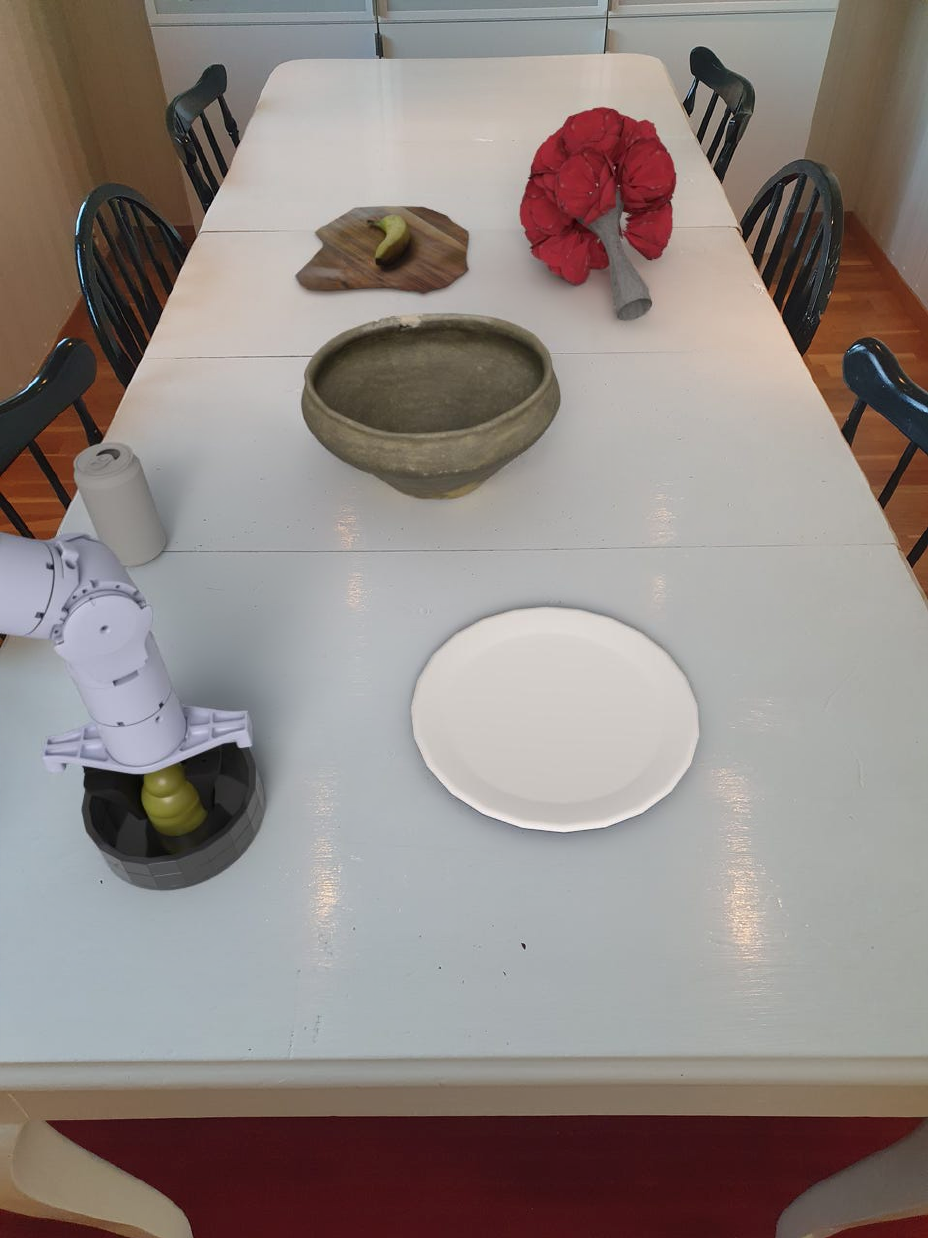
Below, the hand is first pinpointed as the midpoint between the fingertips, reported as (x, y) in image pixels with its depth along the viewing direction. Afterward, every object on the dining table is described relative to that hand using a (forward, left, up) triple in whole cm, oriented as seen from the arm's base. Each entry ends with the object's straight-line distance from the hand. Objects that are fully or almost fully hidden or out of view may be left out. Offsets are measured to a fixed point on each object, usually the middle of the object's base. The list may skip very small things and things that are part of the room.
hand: (177, 804), depth 72 cm
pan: (0, 0, -2) cm, 2 cm away
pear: (0, 0, -1) cm, 1 cm away
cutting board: (+82, +71, -2) cm, 108 cm away
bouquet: (+96, +38, -2) cm, 103 cm away
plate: (+29, -14, -2) cm, 32 cm away
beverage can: (+14, +32, -2) cm, 35 cm away
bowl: (+46, +20, -2) cm, 50 cm away
